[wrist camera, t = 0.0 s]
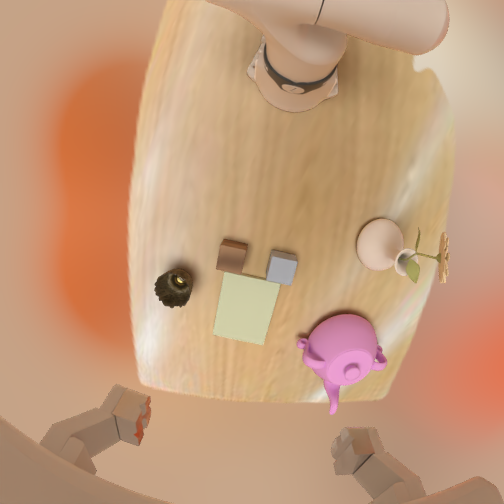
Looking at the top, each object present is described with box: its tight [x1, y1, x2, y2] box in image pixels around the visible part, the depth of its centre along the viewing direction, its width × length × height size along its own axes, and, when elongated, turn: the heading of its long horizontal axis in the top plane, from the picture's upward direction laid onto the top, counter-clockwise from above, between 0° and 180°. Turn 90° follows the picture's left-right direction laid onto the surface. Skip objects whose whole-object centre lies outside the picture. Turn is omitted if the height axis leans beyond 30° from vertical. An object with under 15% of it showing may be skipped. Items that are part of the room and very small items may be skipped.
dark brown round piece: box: [155, 269, 193, 308], centre depth 56 cm, size 8×7×8 cm
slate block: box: [266, 250, 298, 285], centre depth 55 cm, size 5×5×5 cm
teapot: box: [297, 314, 387, 415], centre depth 56 cm, size 22×22×14 cm
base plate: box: [213, 271, 281, 345], centre depth 60 cm, size 16×12×1 cm
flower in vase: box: [357, 219, 450, 283], centre depth 43 cm, size 13×11×25 cm
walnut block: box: [216, 239, 248, 275], centre depth 55 cm, size 5×5×5 cm
